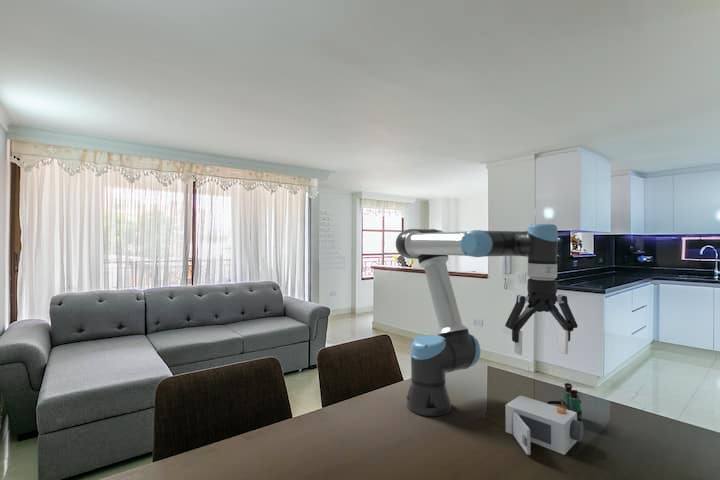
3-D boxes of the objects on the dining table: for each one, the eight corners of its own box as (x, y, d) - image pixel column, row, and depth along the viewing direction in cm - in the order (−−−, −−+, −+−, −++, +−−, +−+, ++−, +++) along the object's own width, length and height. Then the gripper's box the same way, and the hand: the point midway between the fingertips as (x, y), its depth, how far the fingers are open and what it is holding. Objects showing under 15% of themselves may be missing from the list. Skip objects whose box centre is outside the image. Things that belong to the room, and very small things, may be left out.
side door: (509, 433, 105) (509, 410, 105) (515, 433, 105) (515, 410, 105) (525, 454, 94) (524, 429, 94) (531, 454, 94) (530, 429, 94)
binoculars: (540, 382, 120) (573, 381, 118) (544, 414, 120) (577, 414, 118) (549, 393, 112) (584, 392, 110) (553, 427, 111) (589, 427, 109)
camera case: (505, 432, 107) (505, 402, 107) (520, 420, 114) (520, 392, 114) (572, 458, 94) (572, 424, 94) (585, 443, 101) (584, 412, 101)
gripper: (506, 280, 97) (505, 358, 98) (592, 280, 100) (591, 356, 100) (493, 277, 105) (492, 349, 105) (574, 276, 107) (573, 348, 108)
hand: (540, 353), depth 103 cm, fingers open, 13 cm apart
